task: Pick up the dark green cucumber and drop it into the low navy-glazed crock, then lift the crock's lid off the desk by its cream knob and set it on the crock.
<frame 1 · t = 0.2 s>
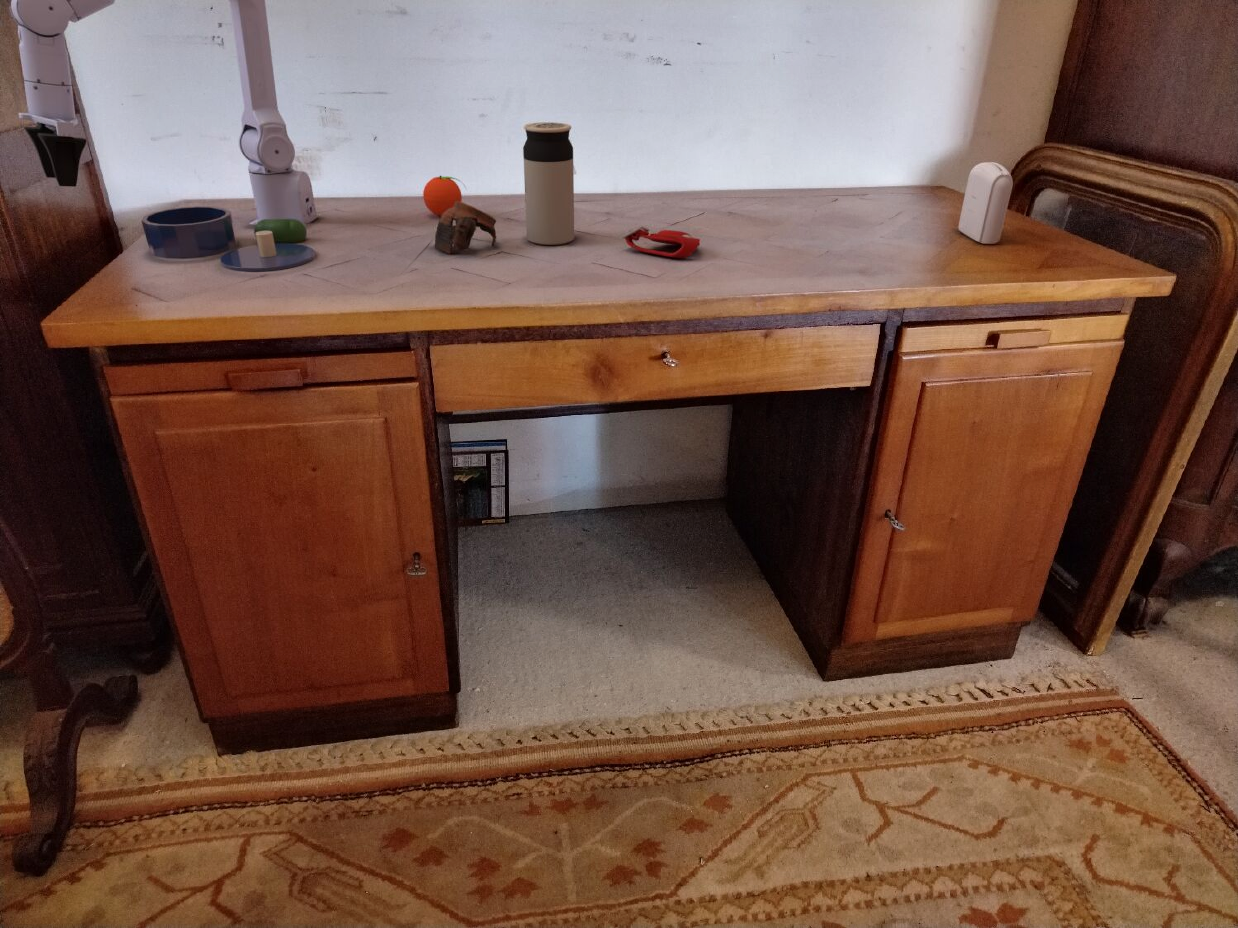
hand: (61, 181, 124), 11 cm above the table, tool pointing down, fingers open, 7 cm apart
cucumber: (282, 244, 135), on the table
clementine: (447, 216, 153), on the table
crock: (195, 250, 131), on the table
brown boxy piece: (465, 250, 134), on the table
crock lid: (268, 258, 126), point 1 cm above the table
travel mug: (550, 241, 139), on the table
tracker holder: (663, 252, 134), on the table
photo printer: (976, 238, 145), on the table
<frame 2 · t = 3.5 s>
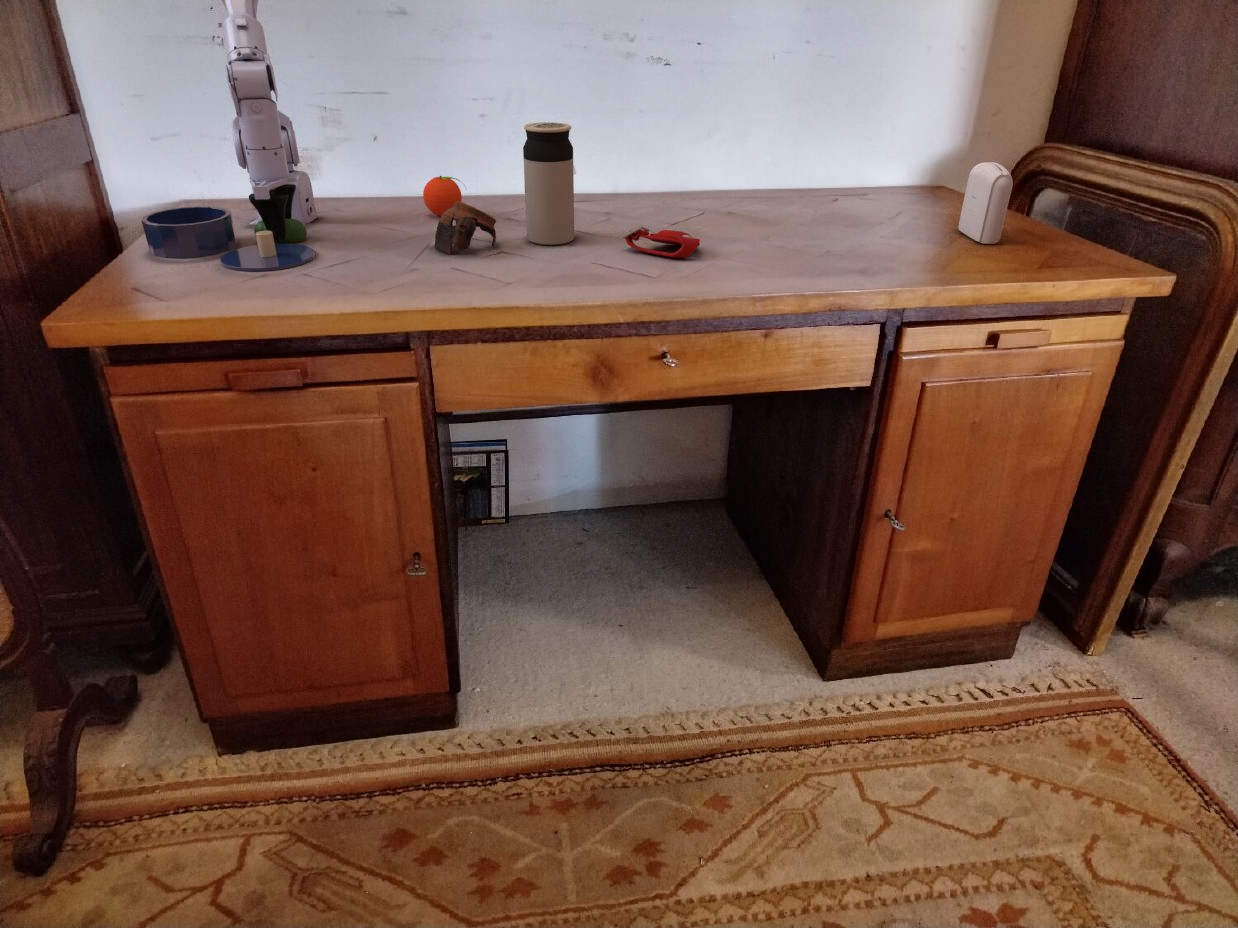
hand: (281, 235, 134), 1 cm above the table, tool pointing down, fingers closed on cucumber, 4 cm apart
cucumber: (282, 244, 135), on the table, touching gripper
everything else where it was.
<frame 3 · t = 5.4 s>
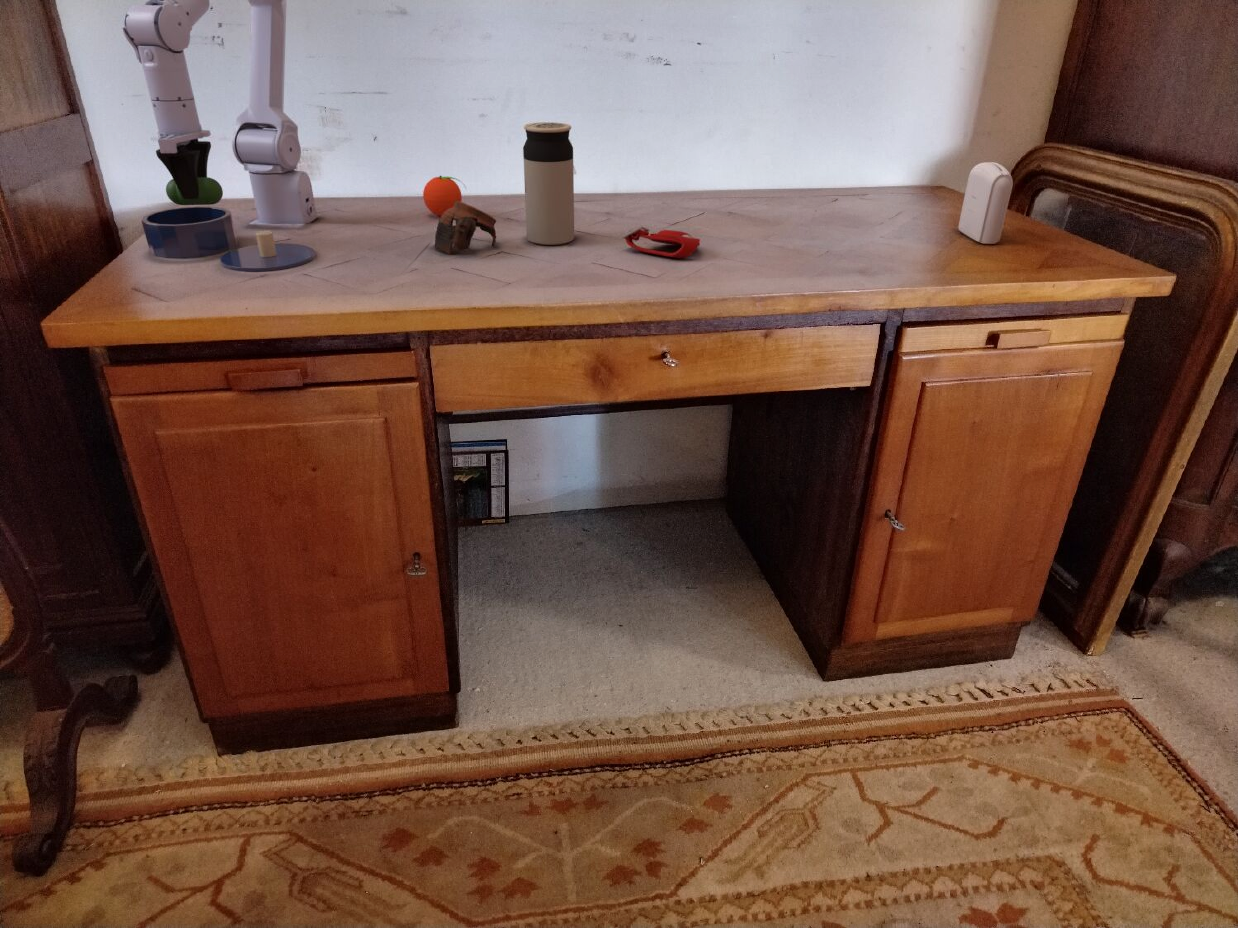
hand: (195, 195, 127), 8 cm above the table, tool pointing down, fingers closed on cucumber, 4 cm apart
cucumber: (197, 204, 128), point 7 cm above the table, touching gripper
everything else where it was.
when the fingers open (2 cm above the table, at t = 7.7 s): cucumber stays where it is, resting on crock.
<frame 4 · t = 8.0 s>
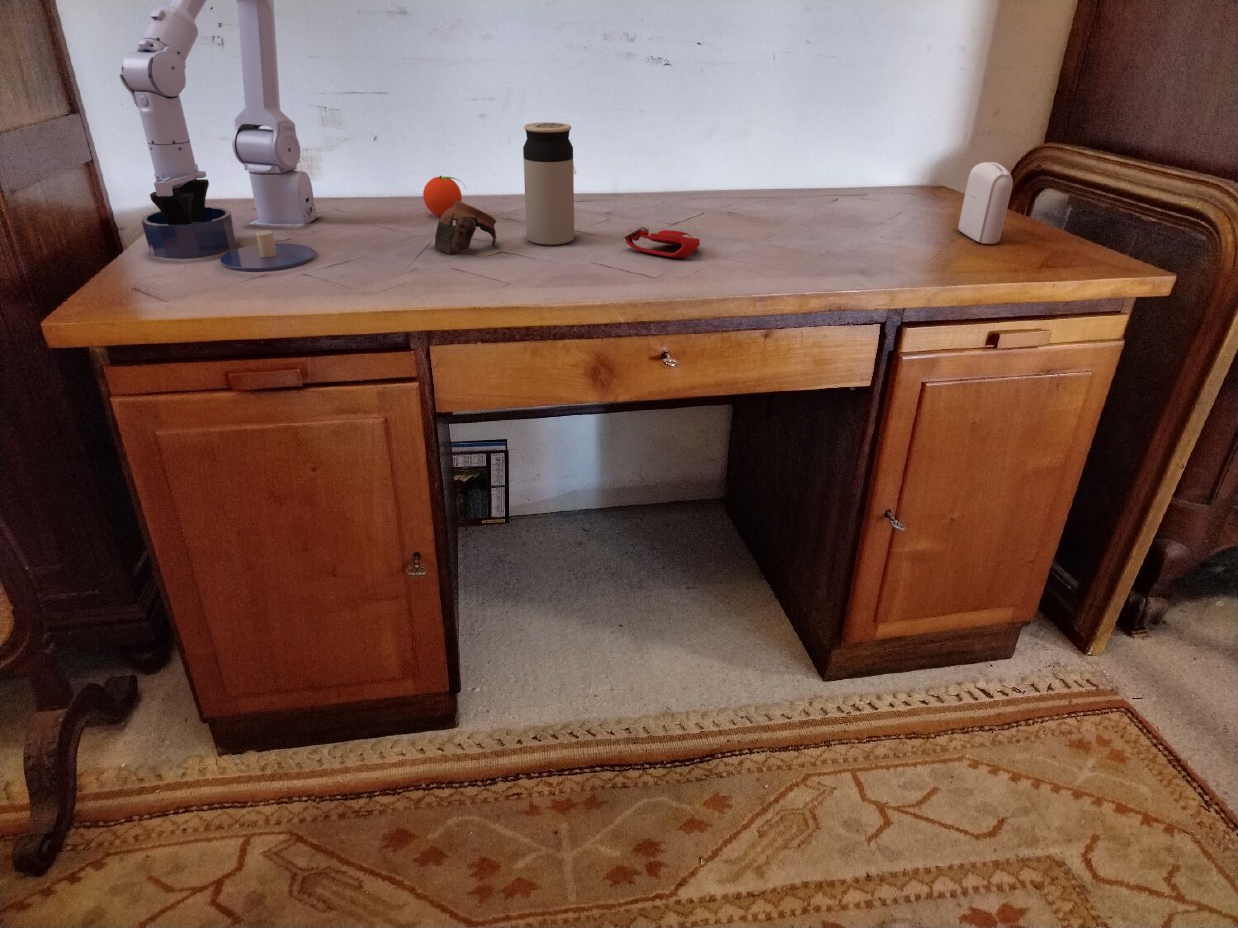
hand: (191, 234, 129), 3 cm above the table, tool pointing down, fingers open, 6 cm apart
cucumber: (194, 247, 130), point 1 cm above the table, tilted 9°, touching crock
everything else where it was.
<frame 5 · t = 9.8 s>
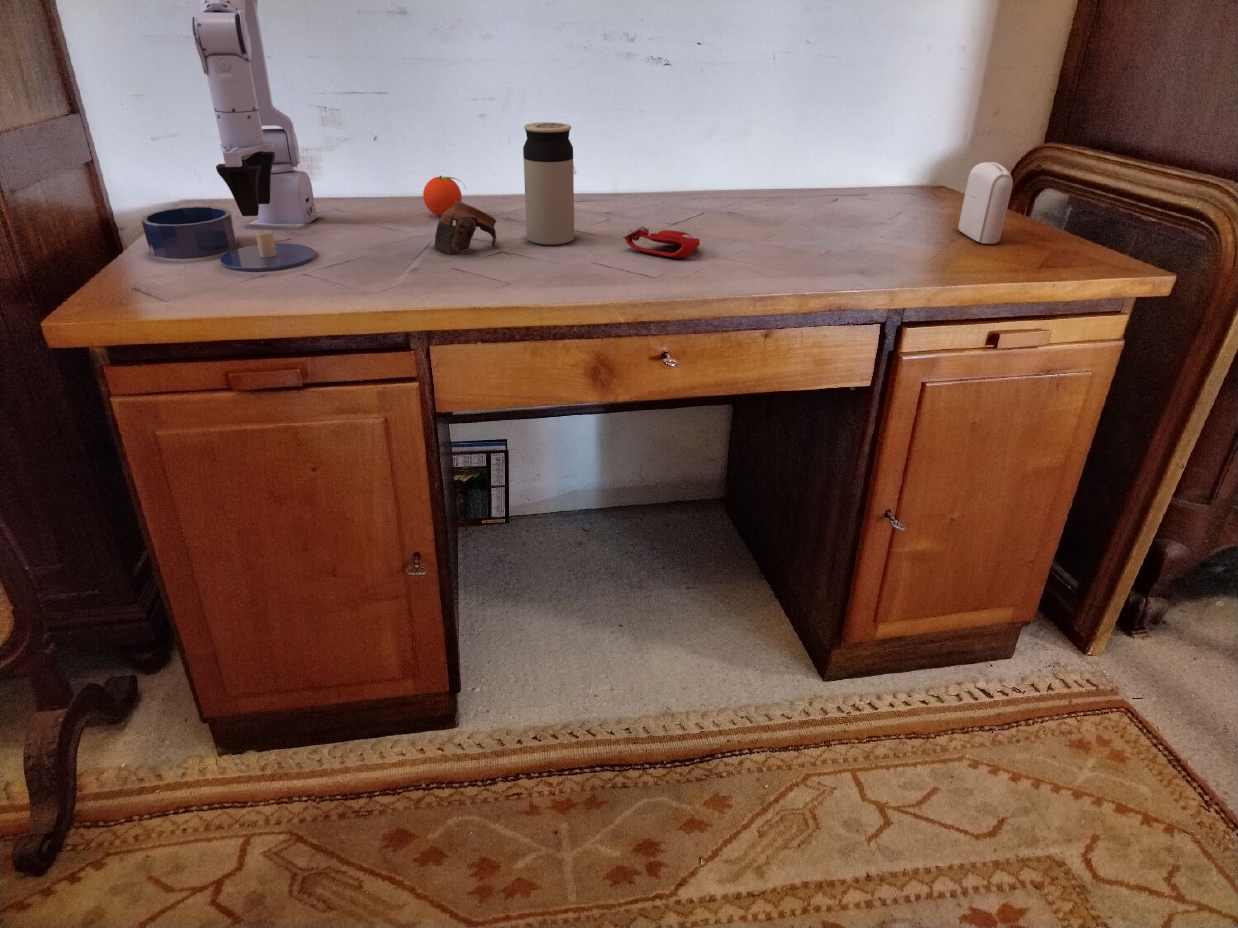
hand: (256, 209, 122), 8 cm above the table, tool pointing down, fingers open, 7 cm apart
cucumber: (190, 238, 129), point 2 cm above the table, tilted 81°, touching crock
everything else where it was.
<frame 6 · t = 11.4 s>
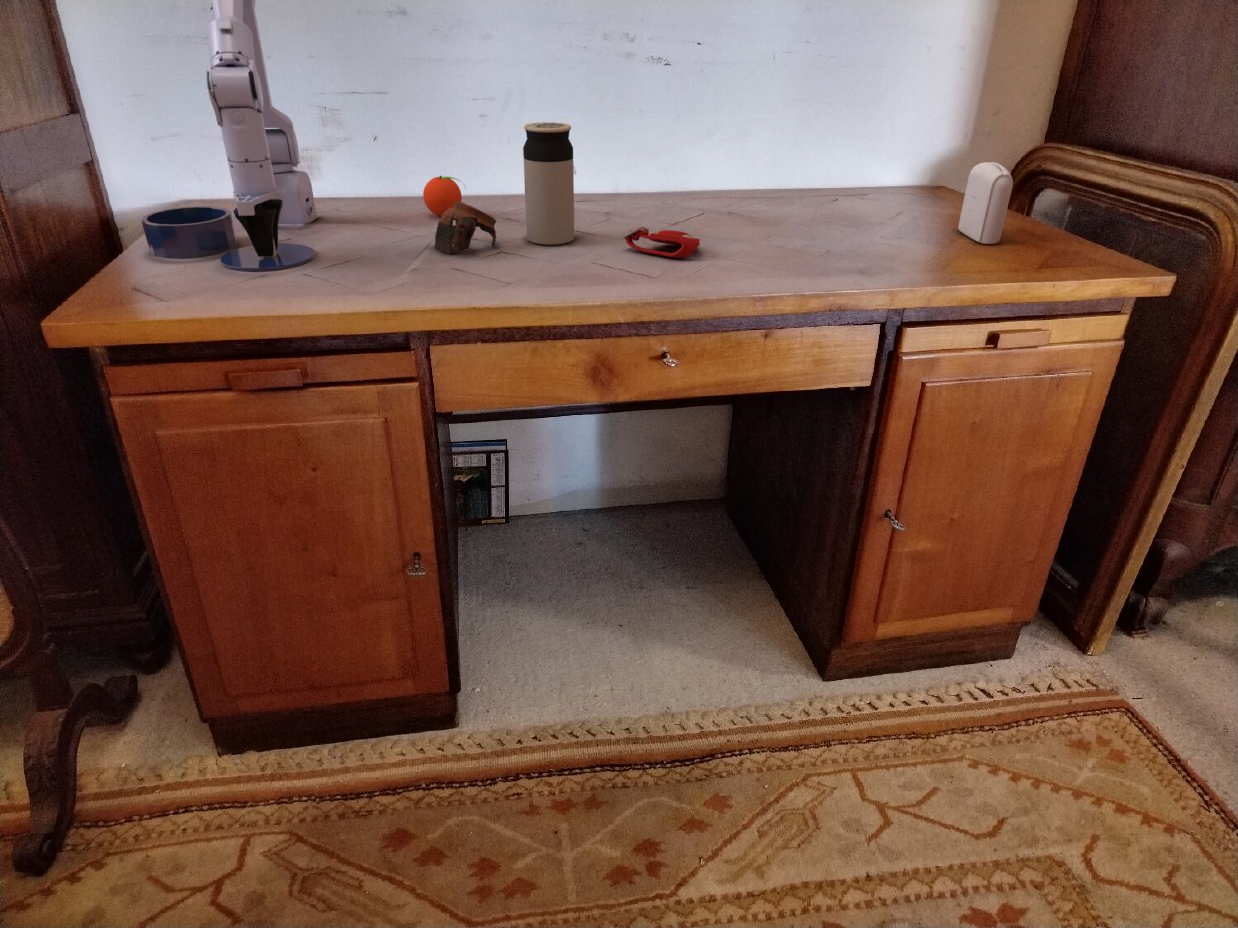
hand: (267, 253, 125), 1 cm above the table, tool pointing down, fingers closed on crock lid, 2 cm apart
crock lid: (269, 258, 126), point 1 cm above the table, touching gripper
everything else where it was.
when the fingers open (6 cm above the table, at t = 15.0 s): crock lid stays where it is, resting on crock.
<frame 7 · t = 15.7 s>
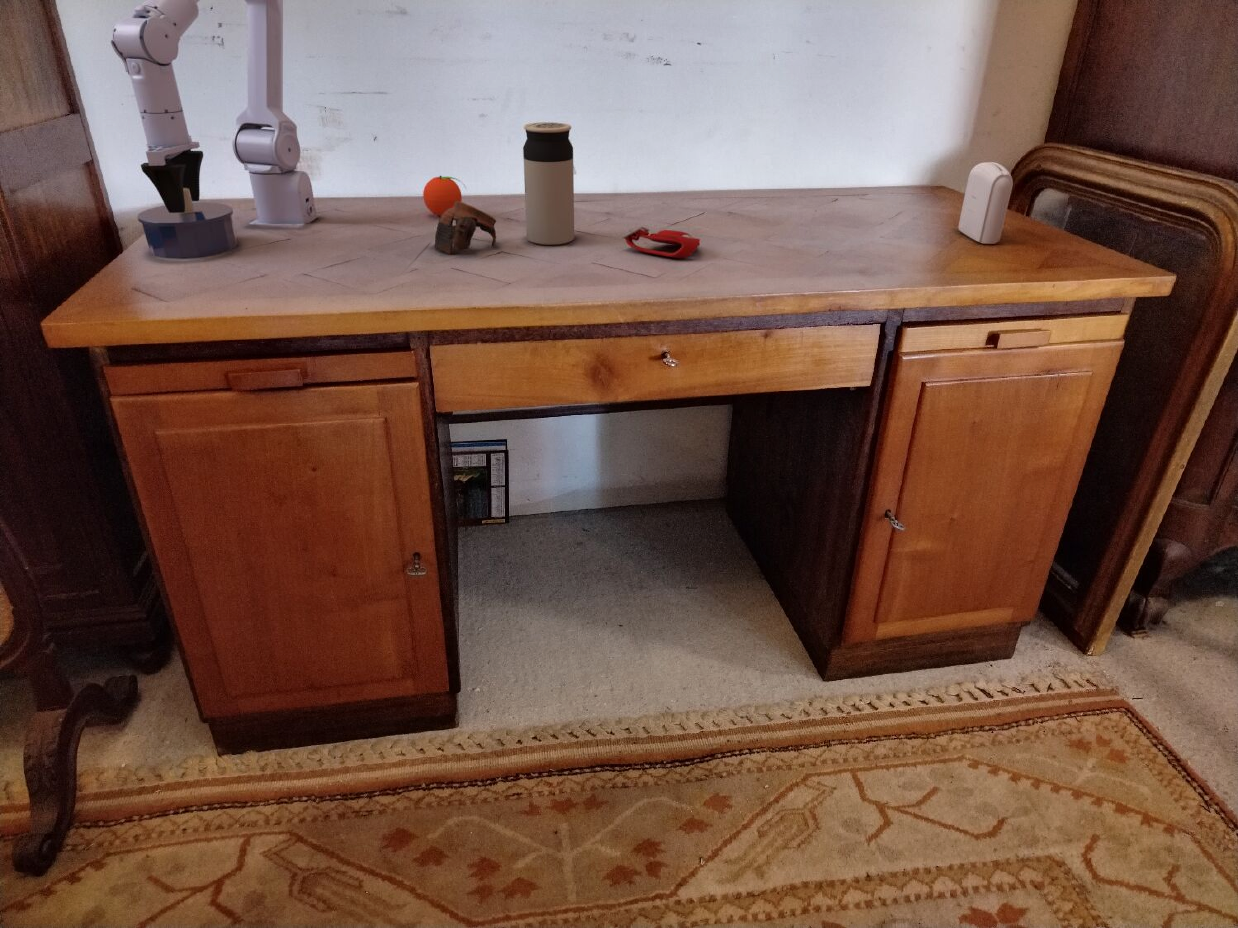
hand: (184, 206, 127), 7 cm above the table, tool pointing down, fingers open, 7 cm apart
cucumber: (193, 243, 130), point 1 cm above the table, tilted 49°, touching crock
crock lid: (186, 215, 128), point 5 cm above the table, touching crock
everything else where it was.
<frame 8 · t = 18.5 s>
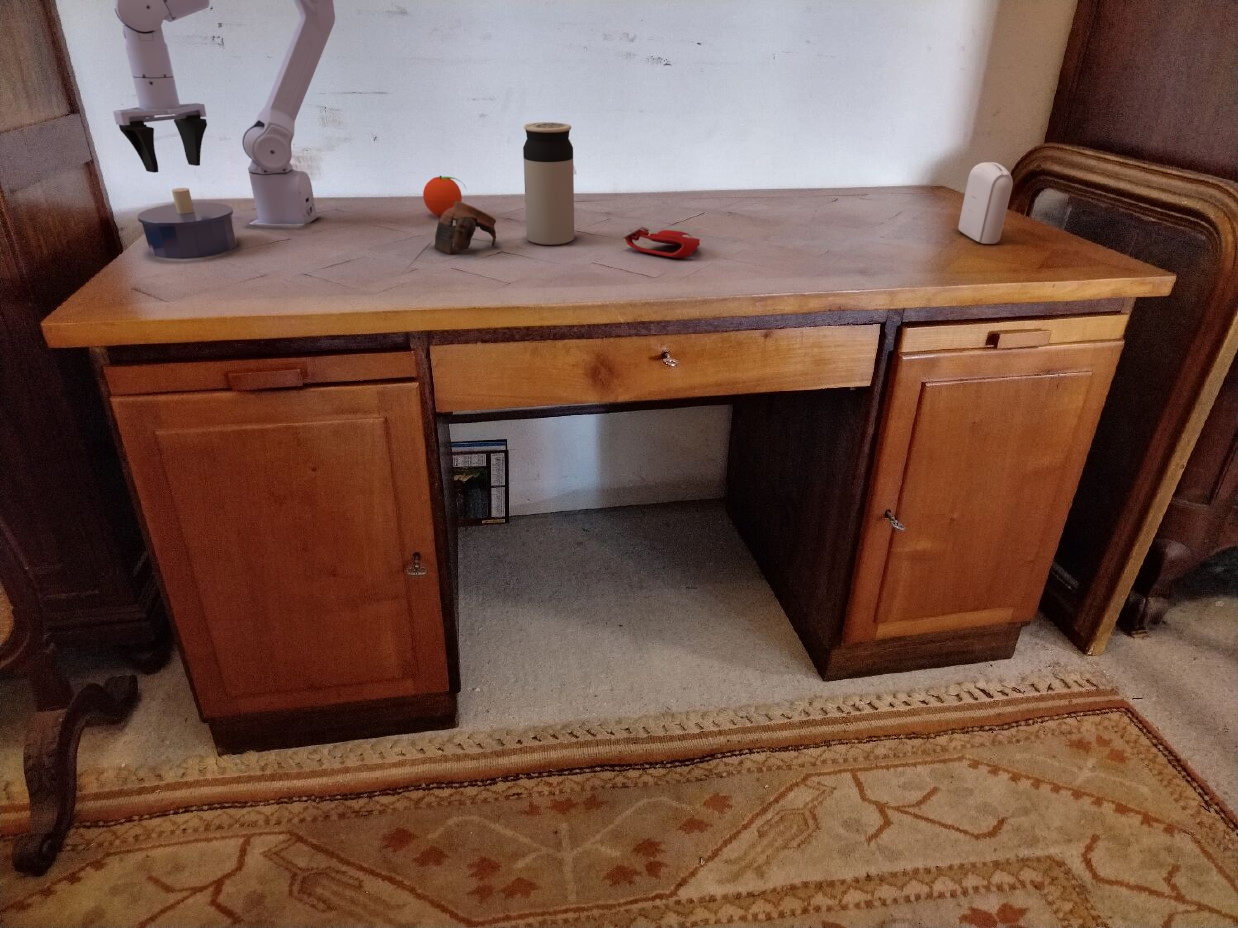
hand: (173, 168, 135), 10 cm above the table, tool pointing down, fingers open, 7 cm apart
cucumber: (194, 247, 130), point 1 cm above the table, touching crock
everything else where it was.
at the end: cucumber inside the target area in the crock (0.0 cm from its centre), point 0.5 cm above the crock's base; crock lid 0.0 cm off-centre on the crock, point 5.5 cm above the crock's base; crock lid tilted 0° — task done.
